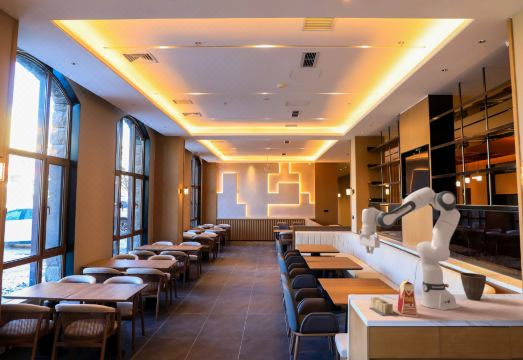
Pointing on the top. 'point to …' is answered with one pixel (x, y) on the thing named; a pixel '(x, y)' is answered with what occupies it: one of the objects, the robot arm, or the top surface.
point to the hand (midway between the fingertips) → (369, 253)
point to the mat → (382, 312)
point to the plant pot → (473, 285)
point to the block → (382, 305)
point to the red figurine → (407, 300)
